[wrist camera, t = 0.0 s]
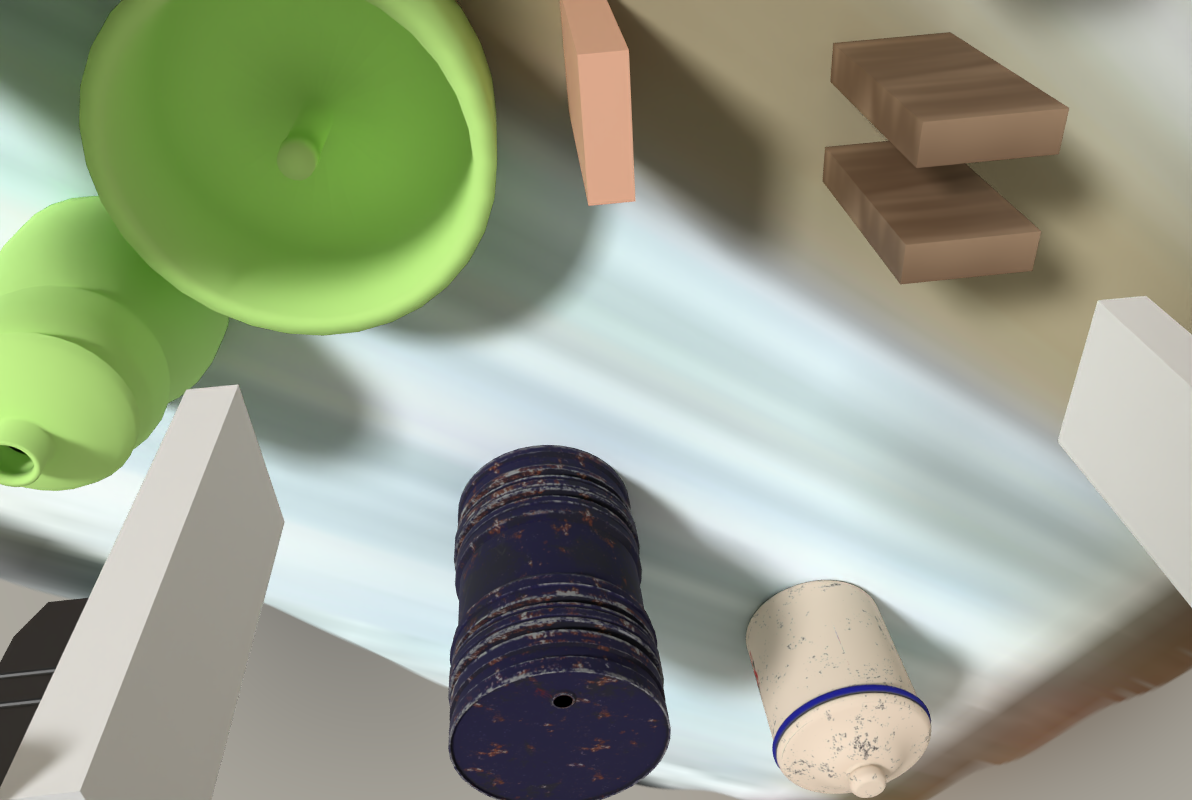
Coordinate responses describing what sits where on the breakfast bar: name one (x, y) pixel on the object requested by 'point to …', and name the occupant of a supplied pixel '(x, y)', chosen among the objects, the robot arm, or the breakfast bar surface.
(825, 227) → the breakfast bar surface
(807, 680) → the teacup with lid
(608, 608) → the storage jar
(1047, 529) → the breakfast bar surface
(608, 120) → the domino
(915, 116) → the domino
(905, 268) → the domino
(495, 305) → the breakfast bar surface
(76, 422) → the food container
